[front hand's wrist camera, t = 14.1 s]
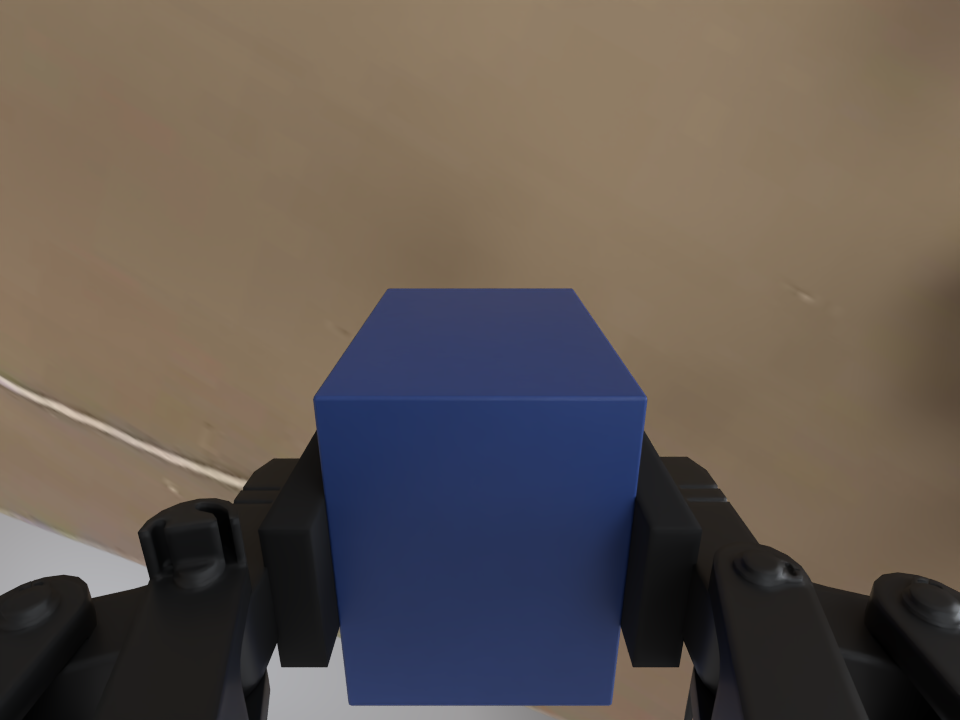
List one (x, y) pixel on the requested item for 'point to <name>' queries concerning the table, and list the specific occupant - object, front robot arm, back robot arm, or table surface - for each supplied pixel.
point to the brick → (480, 499)
